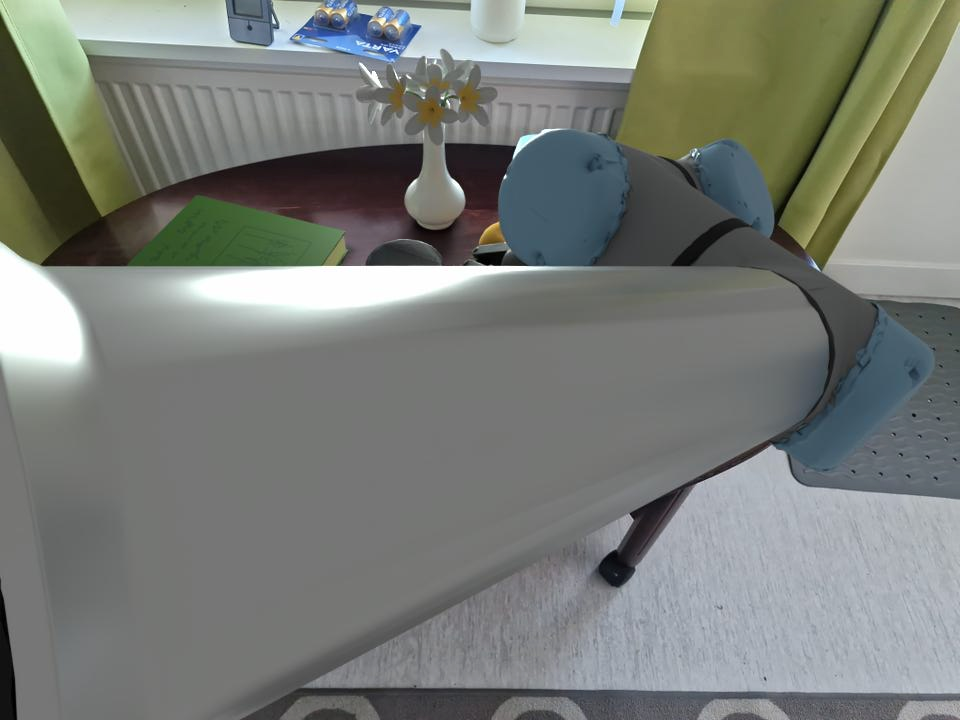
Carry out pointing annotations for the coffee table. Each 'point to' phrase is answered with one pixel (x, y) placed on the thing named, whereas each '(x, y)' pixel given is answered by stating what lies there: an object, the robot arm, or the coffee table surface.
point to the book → (240, 239)
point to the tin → (404, 254)
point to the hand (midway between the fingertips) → (400, 346)
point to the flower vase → (430, 127)
